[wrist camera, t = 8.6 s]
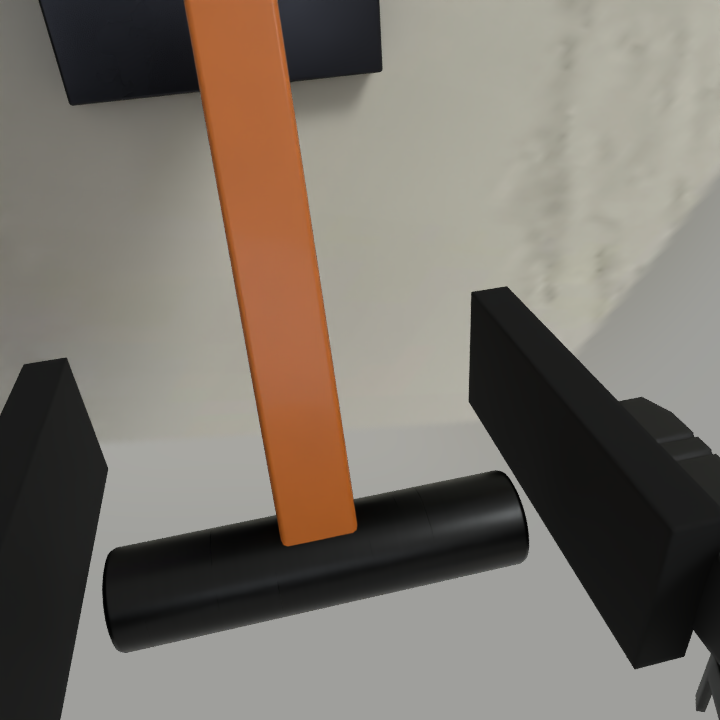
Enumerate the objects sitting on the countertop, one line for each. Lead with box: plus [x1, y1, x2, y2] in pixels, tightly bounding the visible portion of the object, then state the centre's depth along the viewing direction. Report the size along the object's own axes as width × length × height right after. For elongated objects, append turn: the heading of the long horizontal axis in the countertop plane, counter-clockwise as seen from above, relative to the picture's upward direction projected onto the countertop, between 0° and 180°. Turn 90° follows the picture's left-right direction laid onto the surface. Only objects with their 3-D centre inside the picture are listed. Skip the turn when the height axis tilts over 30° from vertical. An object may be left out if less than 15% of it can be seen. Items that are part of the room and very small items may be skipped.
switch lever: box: [102, 0, 529, 653], centre depth 8 cm, size 13×6×2 cm, turn 4°
